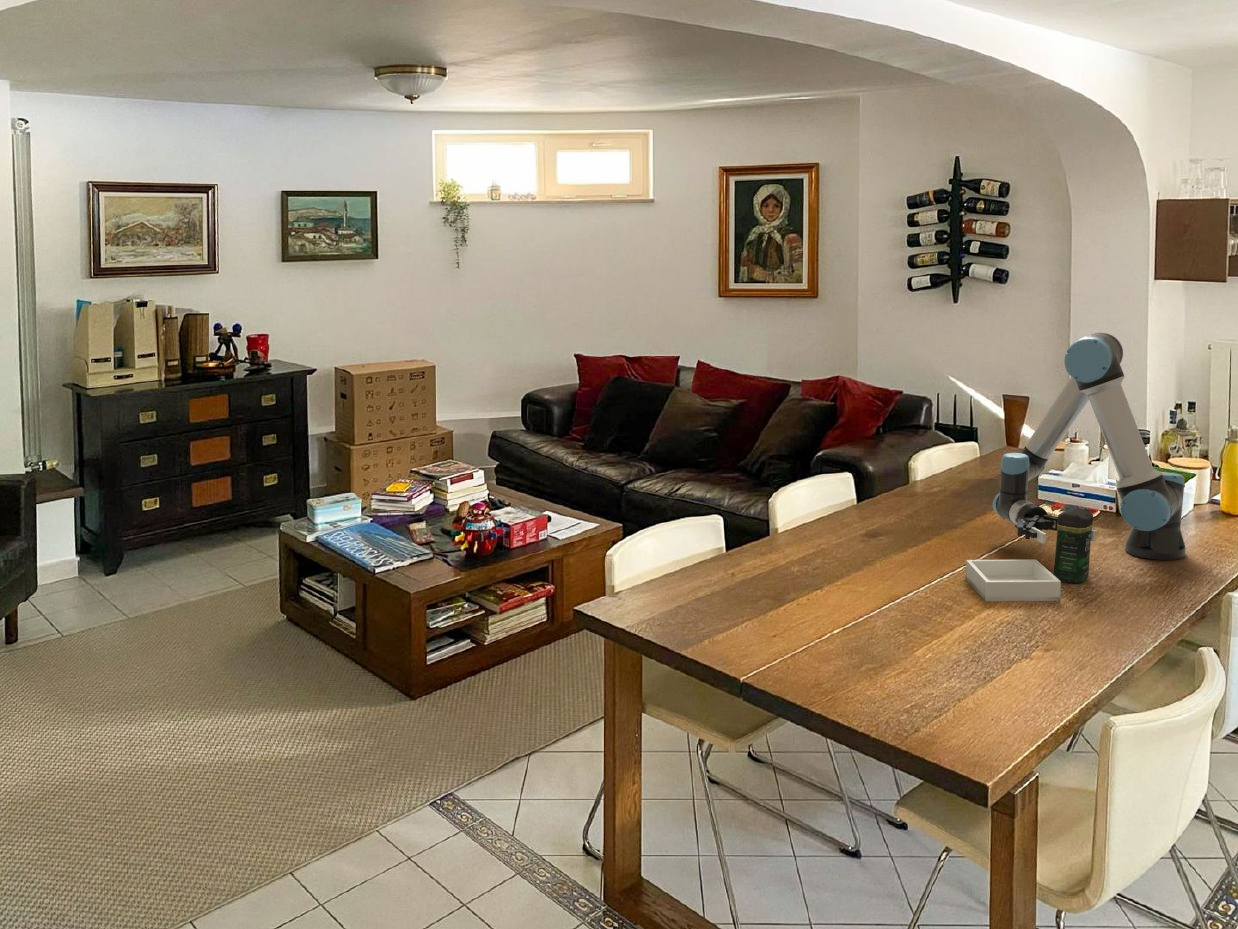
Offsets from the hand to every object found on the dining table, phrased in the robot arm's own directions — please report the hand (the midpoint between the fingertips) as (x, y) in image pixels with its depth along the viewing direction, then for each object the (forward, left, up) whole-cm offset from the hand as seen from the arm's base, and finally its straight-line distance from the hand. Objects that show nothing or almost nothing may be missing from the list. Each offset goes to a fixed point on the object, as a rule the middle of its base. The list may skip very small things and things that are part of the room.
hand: (1069, 537), depth 278 cm
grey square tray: (+17, +9, -11) cm, 22 cm away
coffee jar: (-1, +1, -11) cm, 11 cm away
